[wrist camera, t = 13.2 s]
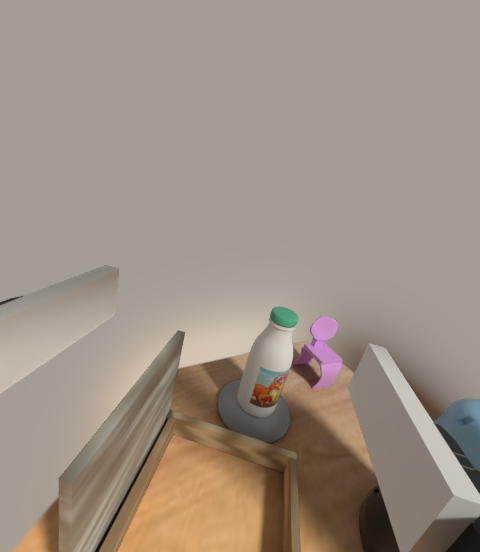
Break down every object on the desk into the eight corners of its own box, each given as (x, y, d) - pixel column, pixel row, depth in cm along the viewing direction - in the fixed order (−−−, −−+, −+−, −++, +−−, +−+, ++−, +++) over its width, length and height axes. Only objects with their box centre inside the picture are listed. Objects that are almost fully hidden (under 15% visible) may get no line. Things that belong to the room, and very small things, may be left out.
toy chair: (309, 391, 57) (333, 335, 52) (288, 364, 65) (307, 312, 60) (336, 386, 61) (361, 333, 56) (313, 361, 68) (333, 313, 63)
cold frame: (289, 468, 40) (329, 377, 34) (293, 712, 21) (384, 603, 15) (161, 423, 42) (178, 330, 36) (58, 610, 23) (58, 478, 17)
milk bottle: (230, 407, 47) (258, 313, 40) (243, 381, 54) (268, 297, 47) (270, 426, 45) (306, 331, 39) (278, 397, 52) (309, 311, 46)
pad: (288, 393, 55) (289, 391, 55) (289, 456, 42) (291, 452, 41) (226, 373, 56) (227, 370, 56) (208, 428, 43) (209, 424, 43)
